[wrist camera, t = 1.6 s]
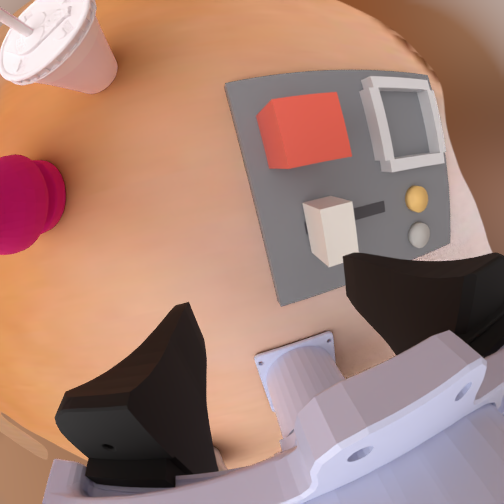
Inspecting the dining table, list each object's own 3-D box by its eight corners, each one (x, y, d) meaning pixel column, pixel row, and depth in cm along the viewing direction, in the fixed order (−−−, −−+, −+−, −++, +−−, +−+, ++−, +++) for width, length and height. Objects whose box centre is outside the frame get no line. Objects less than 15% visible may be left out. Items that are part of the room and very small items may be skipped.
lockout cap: (319, 157, 19) (352, 156, 14) (269, 168, 19) (289, 168, 14) (307, 107, 18) (336, 91, 13) (255, 115, 18) (271, 99, 13)
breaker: (338, 244, 21) (359, 257, 18) (311, 252, 21) (329, 267, 18) (330, 195, 20) (352, 201, 17) (302, 202, 20) (319, 209, 17)
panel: (443, 240, 25) (459, 247, 22) (277, 300, 23) (285, 315, 21) (420, 77, 19) (437, 72, 16) (224, 87, 18) (226, 76, 15)
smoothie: (63, 60, 14) (-33, 1, 1) (130, 31, 15) (70, -73, 1) (68, 121, 16) (-58, 95, 3) (138, 92, 17) (49, 3, 3)
